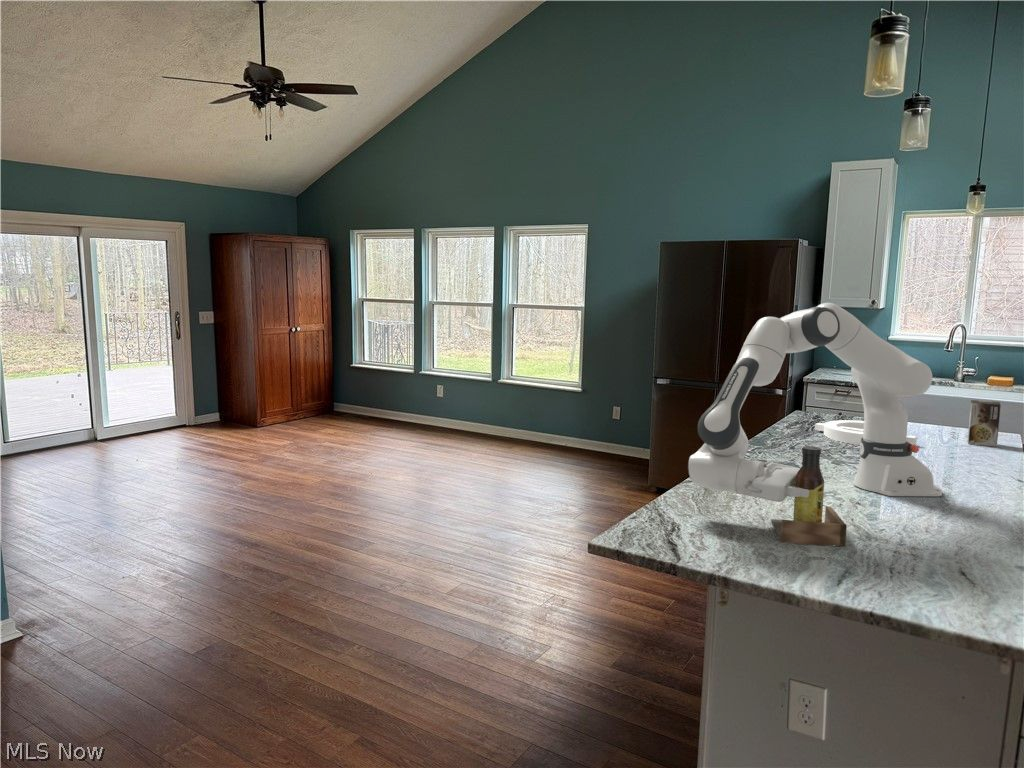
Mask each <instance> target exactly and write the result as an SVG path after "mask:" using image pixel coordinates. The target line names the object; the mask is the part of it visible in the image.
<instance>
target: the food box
mask: <svg viewBox="0 0 1024 768" xmlns="http://www.w3.org/2000/svg"><path fill="white" fill-rule="evenodd" d="M1001 407H1002V406H1001V402H1000V401H993V400H992V401H990V400H989V401H988V400H975V399H974V400H973V399H972V400H970V409H969V418H968V419H969V421H968V431H967V432H968V433H967V439H966V440H967V445H974V446H985V447H986V446H987V447H998V440H999V439H998V438H999V437H998V436H999V427H1000V417H1001V416H1000V415H1001Z"/></svg>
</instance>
